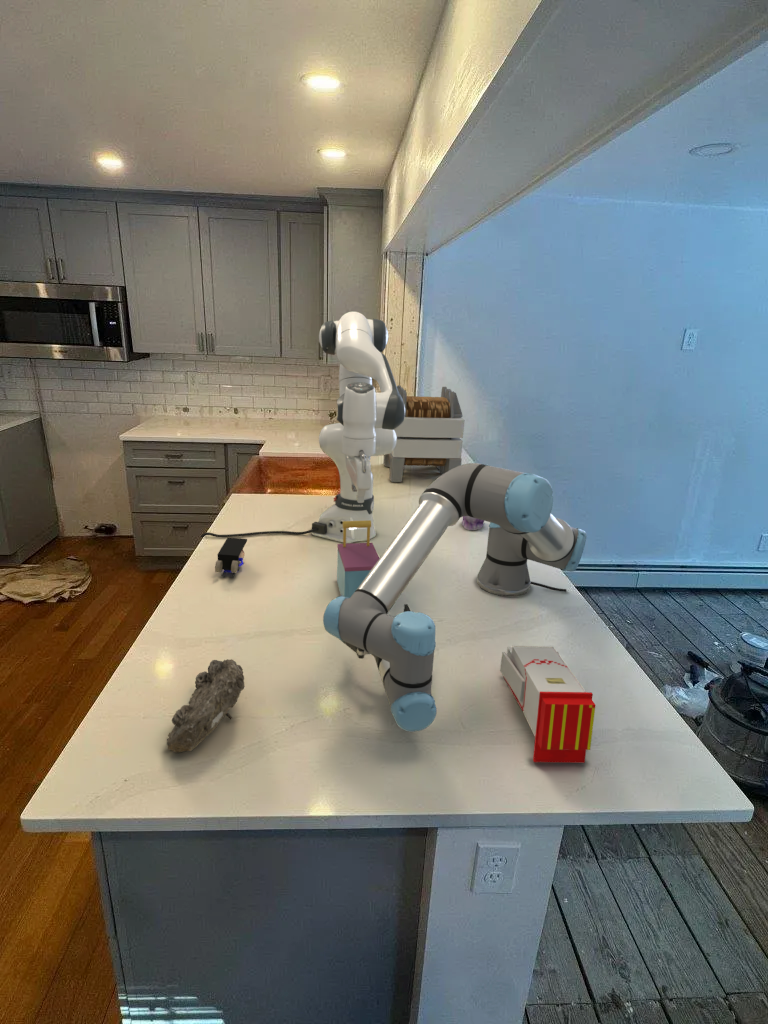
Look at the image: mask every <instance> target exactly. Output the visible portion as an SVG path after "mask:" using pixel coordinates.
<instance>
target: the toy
mask: <svg viewBox="0 0 768 1024" xmlns="http://www.w3.org/2000/svg"><path fill="white" fill-rule="evenodd" d="M506 650H507V651H502V652H501V659H500V666H499V671H500V673H501V675H502V677H503V679H504V681H505V683H506V684H507V687H508V688H509V690H510V692H511V693H512V696H513V697H514V699H515V700H516V703H517V704H518V706H519V708H520V709H521V711H522V712H523V716H524V717H525V719H526V722H527V723H528V726H529V728H530V730H531V731H532V734H533V736H534V744H533V745H534V746H533V757H532V762H533V763H568V764H569V763H575V764H576V763H577V764H578V763H579V764H582V763H583V764H585V762H586V754H587V751H591V747H592V746H591V745H592V738H593V729H594V722H595V713H596V707H597V706H596V703H595V702H594V700H593V696H594V695H593V692H590V691H589V692H587V691H586V690H585V688H584V687H583V686H582V684H581V683H580V681H579V680H578V679H577V677H576V676H575V675H574V673H573V672H572V671H571V669H570V668H569V667H568V665H567V664H566V662H565V661H564V659H563V658H562V656H561V655H560V653H559V651H557V649H556V648H555V647H554V646H545V645H544V646H543V645H542V646H540V645H535V646H534V645H512V646H507V649H506Z"/></svg>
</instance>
